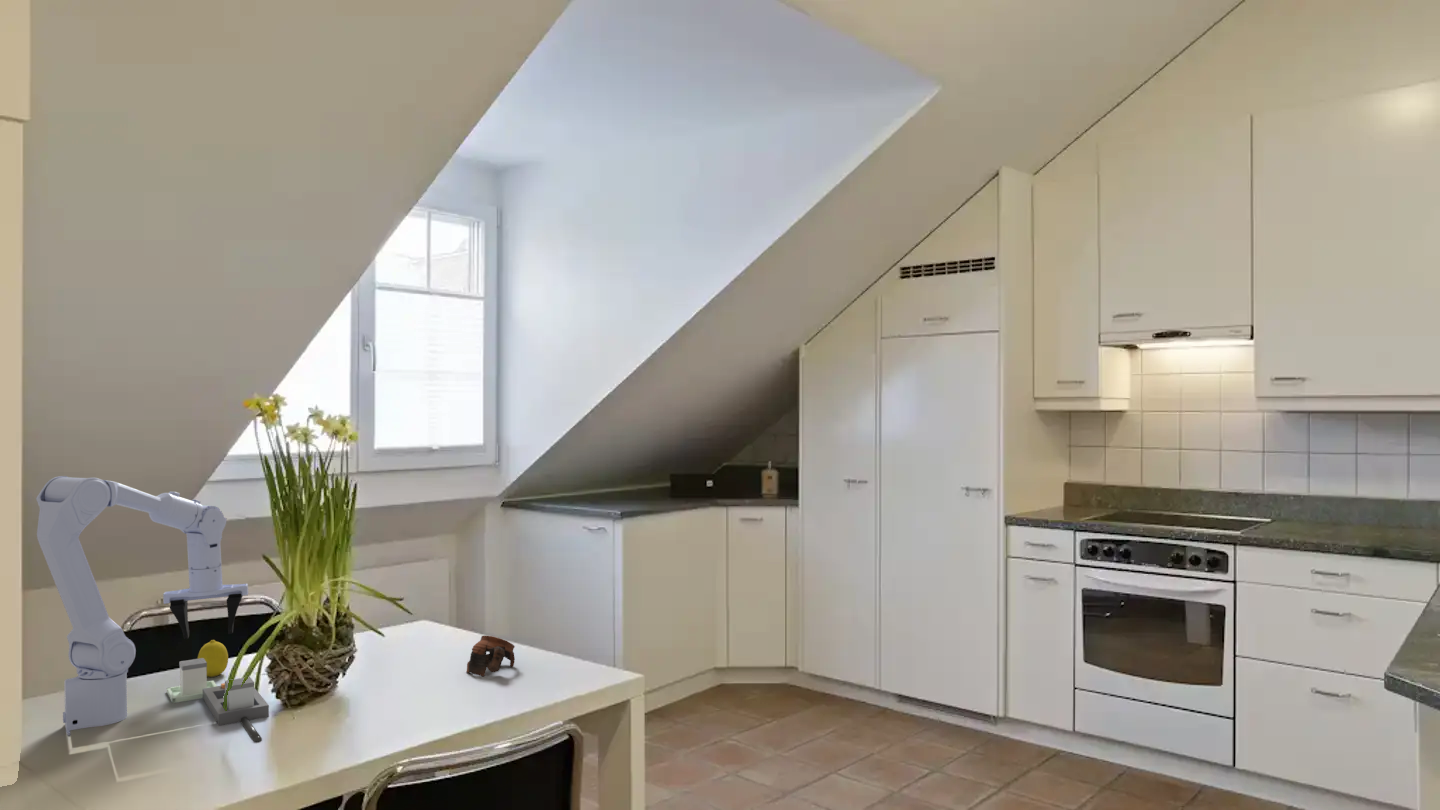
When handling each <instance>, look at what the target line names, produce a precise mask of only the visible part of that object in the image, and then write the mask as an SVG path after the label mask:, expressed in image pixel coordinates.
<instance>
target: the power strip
mask: <svg viewBox="0 0 1440 810" xmlns="http://www.w3.org/2000/svg"><path fill="white" fill-rule="evenodd" d="M224 693H225V682H222V683H220V685H217V686H216V687H210V688H204V689H203V698H202V699H203V701H204V702H205V705H206V706H207V707H208V709H209V711H210V713H211V714H212V716H213V717H214V719H215V722H216V724H217V725H218V727H219V726H226V725H231V724H237V723H241V725H242V726H243V728H244V729H245V730H246V732H247V734H248V735H249V737H250V738H251V740H253V742H254V743H259V742H261V741H263V738H262V737H261V735H260V733H259V732H258V730H257V729H256V728H255V726H254V725H253V724H252V723H251V720H252V721H253V720H258V719H263V718H264V719H265V718H267V717H270V715H269V713H270V711H269V709H270V706H269V703H268V702H267V701H266V700H265V699H264V697H263V696H262V695H261V694H260V692H259V691H258V690H257V689H256V688H255V687H254V706H249V707H244V708H238V709H233V710H227V711H225V709H224V708H223V702H224V698H223V696H224Z"/></svg>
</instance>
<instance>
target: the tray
mask: <svg viewBox="0 0 1440 810" xmlns="http://www.w3.org/2000/svg"><path fill="white" fill-rule="evenodd" d="M216 686H218V685H217V684H216V682H215V680H207V688H210V687H216ZM166 694H167V695H168V698H169V699H170V701H171V703H172V704H175V703H180V702H187V701H192V700H198V699H203V693H198V694H192V695H186V696H182V695H181V693H180V685H177V686H171V687H167V688H166Z"/></svg>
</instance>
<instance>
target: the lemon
mask: <svg viewBox="0 0 1440 810" xmlns="http://www.w3.org/2000/svg"><path fill="white" fill-rule="evenodd" d="M200 658H204V660H205V661H206V662H207V667H206V668H207V677H208V678H215V677H218V676H220V675H221V674H222V673H224V671H225V670H226V669H227V667H228V663H229V652H228V650H227V648H226V646H225V645H224V644H223V643H221V642H219V641H216V640H215V639H211V640H210V641H209V642H207V643H204V644H203V646H202V647H201V648H200V650H199V652H198V654H197V659H200Z"/></svg>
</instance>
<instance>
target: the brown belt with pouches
mask: <svg viewBox="0 0 1440 810" xmlns="http://www.w3.org/2000/svg"><path fill="white" fill-rule="evenodd" d="M515 647H516V646H515V645H514V643H511V642H510V641H508V640H506V639H504V638H500V637H496V636H493V635H481V637H480V640H479V641H478V642H476V643H475V644H474V645H473V647H472V648H471V653H470V659H469V661H467V664H466V673H469V674H470V673H471V674H473V675H477V676H481V677H485V676H486V672H487V670H488V671H490V672H491V673H497V672H499V671H500V669H501V666H502V662H503V660H504V658H505V659H507V660H509V661H510V662H509V667H510V666H511V667H510V668H512V667H514V665H515V653H514V649H515ZM487 652H488V653H487Z"/></svg>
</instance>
